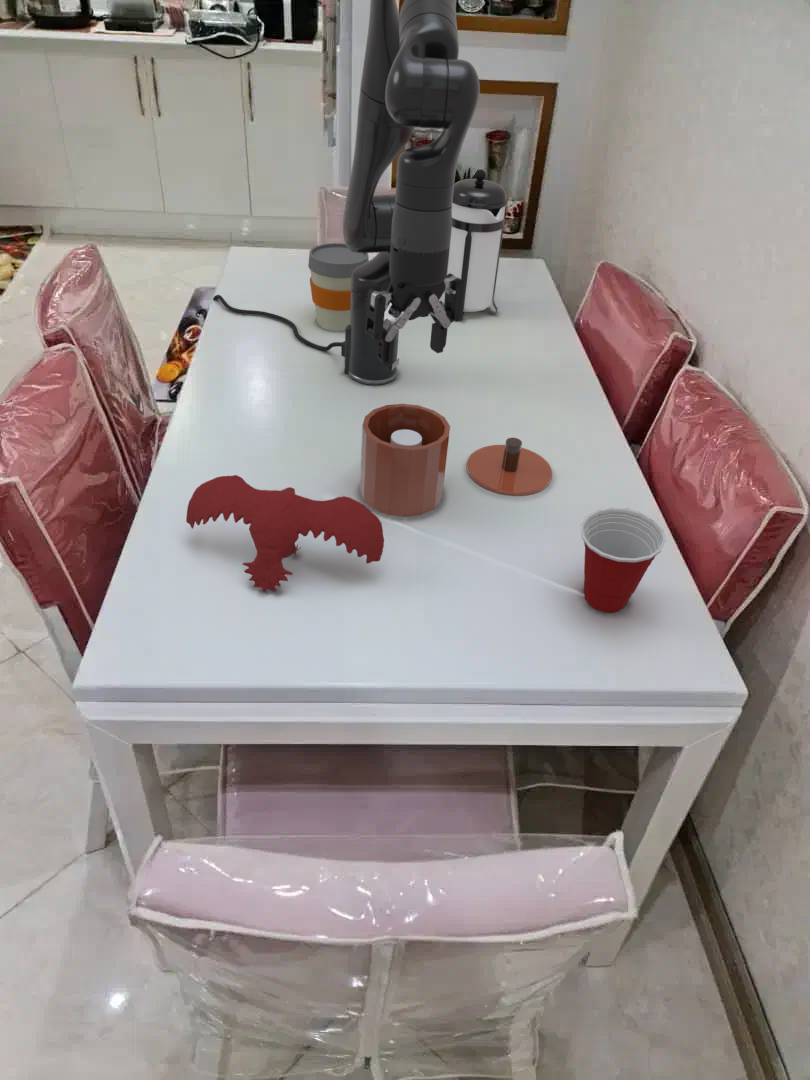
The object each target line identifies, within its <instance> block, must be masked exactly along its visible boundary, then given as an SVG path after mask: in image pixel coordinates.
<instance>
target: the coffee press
mask: <svg viewBox="0 0 810 1080" xmlns="http://www.w3.org/2000/svg"><path fill="white" fill-rule="evenodd" d="M474 177H475V178H465V179H461V180H459V181H457V182H454V190H453V200H452V231H451V241H450V250H449V260H448V270H447V275H448V274H450V273H451V274H453V275H454V276H456V277H458V278H460V279H461V280H463V282H464V284H463V298H462V313H461V319H460V320H459V321H458V322H462V321H463V319H464V316H465V315H464V314H465V312H466V313H474V312H475V313H476V312H482V311H484V310H487V311H488V312H489V313H490V315H492V316H495V315H496V314H497V313H498V310H499V308H498V306H497V305H496V302H495V296H496V295H495V294H496V287H497V280H498V273H499V272H498V271H499V265H500V258H501V251H502V245H503V244H502V243H503V236H504V229H505V228H504V227H505V223H506V222H505V221H506V215H505V214H506V207H507V205H508V203H509V197H508V195H507V192H506V189H505V188H504V187H503V185H500V183H497V182H495V181H493V180H488V179H486V177H487V173H486V171H485V170H484V169H480V168H479V169H478V170H476V172H475V173H474ZM445 279H446V278H445ZM439 302H440V304H444V302H445V292H444V293H443V295H442V296H441V298H440V299H439ZM491 305H493V308H494V309H495V311H493V310H492V309H491V308H490V306H491Z"/></svg>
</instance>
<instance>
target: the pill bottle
mask: <svg viewBox="0 0 810 1080" xmlns="http://www.w3.org/2000/svg"><path fill="white" fill-rule="evenodd" d="M390 443H391V444H393V445H399V446H408V447H413V446H422V437H421V435H420V434H419V433H417V432H415V431H412V430H397V431H395V432H393V433H392V435H391V441H390Z"/></svg>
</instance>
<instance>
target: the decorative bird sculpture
mask: <svg viewBox="0 0 810 1080" xmlns="http://www.w3.org/2000/svg"><path fill="white" fill-rule="evenodd" d="M186 509H187V510H186V517H185V518H186V520H185V522H186V523H187V524H188V525H189V526H190V528H191V529H193V530H194V527H195V524H196V525H197V526H200V524H201V523H202V525H206V524H207V523H208V522H209V520H210V519H212V521H213V522H214V523H215V522H216V521H217V520H218V519H219V517H220V516H221V515H222V516H223V517H222V518H223V520H224V521H225V522H228V521H229V518H230V517H231V514H232V515H233V521H234V522H235V524H236V523H238V522H239V521H240V520H242V522H243V524H244V525H249V528H248V531H249V534H250V537H251V539H252V541H253V545H254V548H255V550H256V556H255V557H254V559H253V561H251V562H242V566H245V567H247V568H245V569H244V570H243V572H244V573H245V574H249V575H251V576H250V578H249V579H248V581H251V582H254V583H253V585H252V587H253V588H259V589H261V593H263V594H265V593H266V591H267V590H268V591H271V592H276V591H277V589H276V587H278V588H281V586H282V585H281V583H280V582H281V581H282V582H283V581H284V582H288V581H289V580H288V577H287V576H294V573H293V572H292V571H290V570H287V569H285V568H284V566H283V559H286V558H289V557H291V556H292V555H296V554H297V552H298V551H299V550H300V549H301V548H302V546H300V547H298V546H299V544H297V545H296V543H297V541H298V539H299V537H300V536H299V535H301V536H303V537H307V536H308V535H309V532H311V533H312V536H313V538H314V539H317V538H318V537H319V536H320V535H321V534H322V533H323V541H324V542H327V541H328V540H330V539H331V538H332V537H334V539H335V546H336V547H340V546H342V545H343V544H344V545H345V551H346V552H347V554H350V555H351V554H352V553H353V551H354V550H355V551H356V555H357V557H358V558H362V557H363V556H366V560H365V561H366V563H365V564H367V565H368V564H371V563H372V562H373V563H374V562H380V561H381V558H382V555H383V552H384V548H385V547H384V546H385V538H384V530H383V524H382V522H381V520H380V519H379V516H377V515H376V514H375V513H373V512H372V511H371V510H370V509H369V508H368V507H367V506H366V505H365V504H363V503H362V502H359V501H358V500H356V499H353V498H351V497H349V496H344V495H343V496H338V497H335V498H332V499H326V500H317V499H311V498H308V497H304V496H302V495H299V494H296V490H295V488H294V487H291V486H290V487H286V488H283V489H281V490H278V489H273V490H272V489H271V490H269V489H258V488H255V487H253V486H252V485H250V484H249V483H248V482H246V480H245V479H244V478H243V477H241V476H239V475H237V474H234V475H222V476H216V477H214V478H212V479H210V480H207V481H205V482H203V483H201V484H200V485H199V486H198V487H196V489H195V490H194V492H193V493H192V496H191V497H190V499H189V501H188V504H187V508H186ZM286 575H287V576H286Z"/></svg>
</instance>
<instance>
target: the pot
mask: <svg viewBox="0 0 810 1080" xmlns="http://www.w3.org/2000/svg"><path fill="white" fill-rule="evenodd" d="M361 426H362V429H361V451H360V453H361V455H360V481H359V492H360V495H361V497H362V500H363V502H365V504H367V505H368V506H369V507H370V508H371V509H373V510H375V511H377V512H379V513H383V514H385V515H387V516H393V517H394V516H395V517H402V518H406V517H414V516H422V515H424V514H426V513H429V512H431V511H433V510H435V509H436V508H437V507H438V505H440V503H441V502H442V500H443V493H444V483H445V474H446V466H447V460H448V459H447V458H448V449H449V442H450V441H449V439H450V431H451V425H450V424H449V422H448V421H447V419H446V417H445V416H443V415H442V414H440V413H438V411H435V410H434V409H431V408H428V407H425V406H422V405H419V404H411V403H393V404H385V405H382V406H380V407H377V408H374V409H372V410H371V411H370V412H369V413H367V414H366V415H365V416H364V419H363V422H362V425H361ZM397 430H412V431H415V432H417V433H419V434H420V435H421V437H422V446H413V447H408V446H399V445H393V444H391V443H390V441H391V435H392V433H393V432H395V431H397Z"/></svg>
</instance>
